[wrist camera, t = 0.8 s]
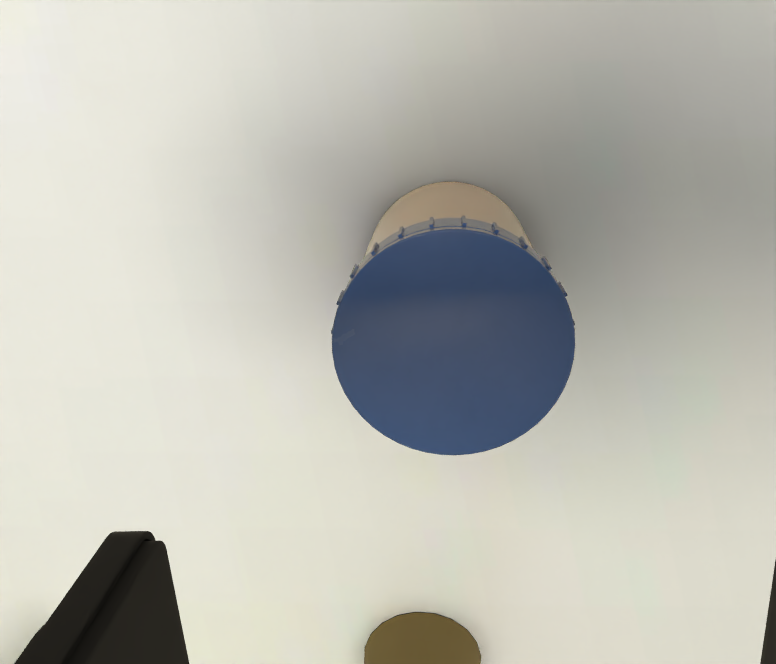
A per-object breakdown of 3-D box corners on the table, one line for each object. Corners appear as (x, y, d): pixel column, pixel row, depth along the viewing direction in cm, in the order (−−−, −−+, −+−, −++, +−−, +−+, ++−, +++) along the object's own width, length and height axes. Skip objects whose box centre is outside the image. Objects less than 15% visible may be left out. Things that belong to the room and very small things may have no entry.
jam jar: (529, 176, 28) (570, 225, 19) (528, 333, 31) (564, 440, 22) (363, 185, 29) (329, 236, 20) (374, 338, 31) (348, 445, 22)
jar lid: (570, 209, 21) (581, 221, 19) (564, 428, 23) (574, 455, 21) (327, 220, 21) (318, 233, 20) (346, 433, 23) (340, 459, 22)
